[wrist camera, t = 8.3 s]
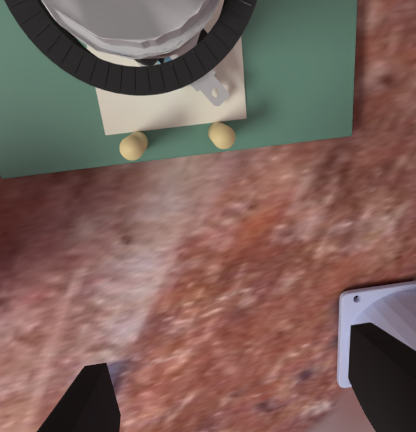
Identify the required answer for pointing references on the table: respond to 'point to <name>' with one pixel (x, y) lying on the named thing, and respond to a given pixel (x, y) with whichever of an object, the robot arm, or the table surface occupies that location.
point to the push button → (136, 41)
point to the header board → (183, 96)
